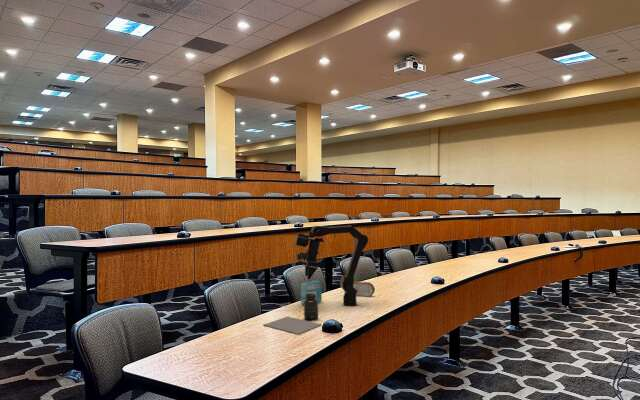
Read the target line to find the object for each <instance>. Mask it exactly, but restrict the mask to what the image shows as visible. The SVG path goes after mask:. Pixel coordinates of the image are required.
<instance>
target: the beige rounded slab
mask: <svg viewBox="0 0 640 400" xmlns="http://www.w3.org/2000/svg"><path fill="white" fill-rule="evenodd" d="M353 287H354V288H355V289H356V290H357V294H356V297H363V298H365V297H366V298H369V297H372V296H373V294H375V290H376V288H375V285H374V284H373V283H371V282H370V281H355V280H354V284H353Z"/></svg>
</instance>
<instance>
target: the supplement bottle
mask: <svg viewBox="0 0 640 400" xmlns="http://www.w3.org/2000/svg"><path fill="white" fill-rule="evenodd" d="M315 298H316V295H315V294H313V293H309V294H306V300H305V301H304V305H303V318H304V319H303V320H305V321H309V322H313V321H317V320H319V303H318V301H317V300H316V299H315Z"/></svg>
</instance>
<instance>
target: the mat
mask: <svg viewBox="0 0 640 400" xmlns="http://www.w3.org/2000/svg"><path fill="white" fill-rule="evenodd" d="M321 325H322V326H323V324H322V323H317V322H313V321H307V320H305V319H300V318H295V317H290V316H285V317H282V318H278V319H275V320H273V321H270V322H266V323H264V324H263V327H266V328H271V329H275V330H279V331H283V332H287V333H290V334H295V335H298V336H299V335H301V334H304V333H307V332H309V331H312V330H314V329H317V328H319V327H318V326H320V327H321ZM316 327H317V328H316ZM313 328H314V329H313ZM311 329H312V330H311Z"/></svg>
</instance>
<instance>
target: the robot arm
mask: <svg viewBox="0 0 640 400" xmlns="http://www.w3.org/2000/svg"><path fill="white" fill-rule="evenodd" d="M335 234H336V235H337V234H350V235H351V237H352V238H353V239H354V245H353V247H354V249H353V252H352V255H351V259H350V261H349V265H348V267H347V270H346V273H345V274H344V275H343V274H342V275H341V279H340V281H339V284H340V285H339V286H340V288H341V289H342V290H343V291H344V294H343V295H342V296H343V301H342V302H343V306H345V307H346V306H347V307H348V306H351V307H352V306H353V307H356V306H357V303H358V302H357V296H356V294H357V290H356V289H355V288H354V287H353V284H354V282H355V274H356V271H357V267H358V265H359V262H360V258H361V256H362V252H363V251H364V249H365V248H366V247H367V245H368V242H369V237H368V236H367V235H366V234H363V233H361V232H360V231H359V230H358V229H357V228H356V227H355V226H353V225H350V224H349V225H342V226H323V225H314V226H312V227H311V229H310V231H309V232H308V233H307V234H303V233H301V232H298V233H297V234H296V238H295V241H294V246H296V247H297V246H298V247H303V248H306V247H307V246H308V248H307V249H306V251H301V252H297V253H295V255H296V261H301V260H302V263H303V264H304V271H305V274H304V275H305V277H307V280H310V279H311V278H312V277H313V275H314V274H315V272H316V271H317V270H318V268H319V266H320V263H319V262H318V255H319V254H320V252H319V249H320V245H321V243H325V240H324V239H323V237H325V236H327V235H335Z"/></svg>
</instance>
